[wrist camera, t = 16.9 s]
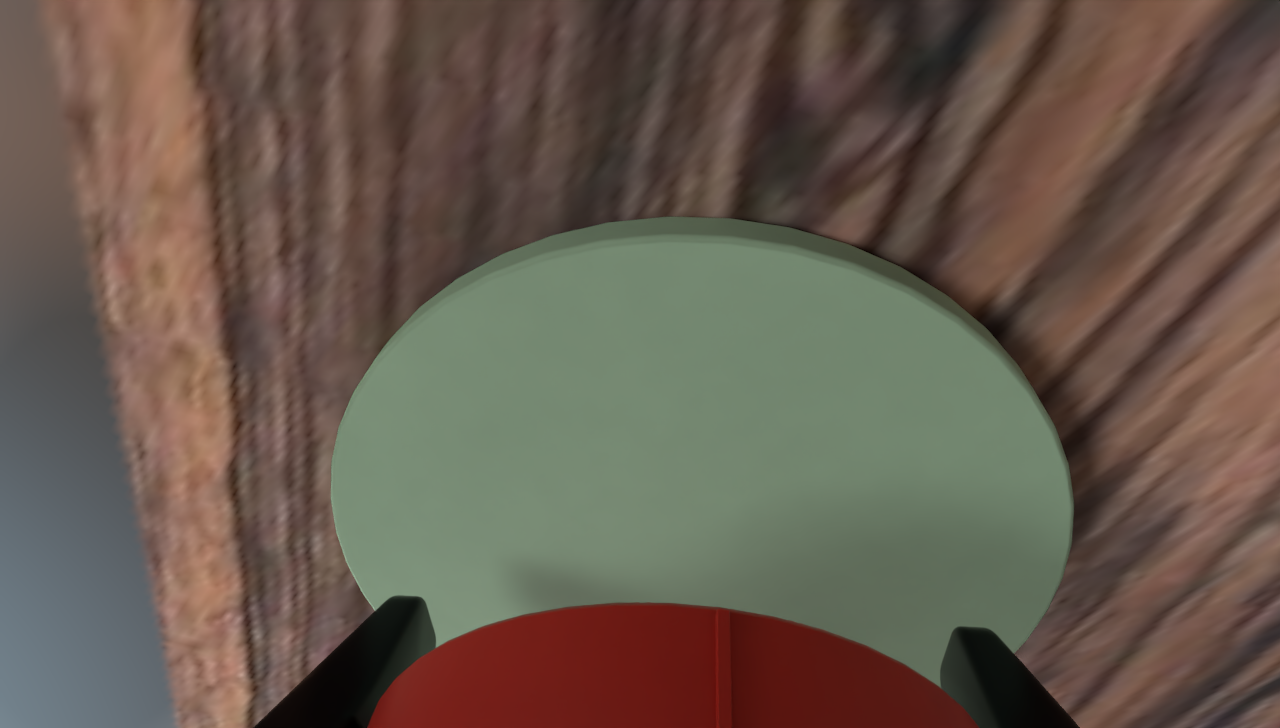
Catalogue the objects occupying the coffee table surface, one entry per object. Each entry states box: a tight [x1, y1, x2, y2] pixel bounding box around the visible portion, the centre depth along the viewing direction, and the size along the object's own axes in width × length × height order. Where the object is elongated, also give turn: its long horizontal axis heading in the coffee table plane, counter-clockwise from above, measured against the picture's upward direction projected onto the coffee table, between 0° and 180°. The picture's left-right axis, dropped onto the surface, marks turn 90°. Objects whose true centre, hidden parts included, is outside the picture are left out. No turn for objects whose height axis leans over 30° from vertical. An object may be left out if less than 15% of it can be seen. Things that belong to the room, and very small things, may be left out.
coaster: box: [331, 217, 1074, 688], centre depth 10 cm, size 10×10×1 cm
